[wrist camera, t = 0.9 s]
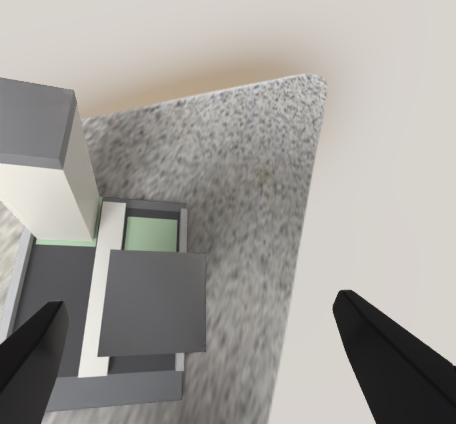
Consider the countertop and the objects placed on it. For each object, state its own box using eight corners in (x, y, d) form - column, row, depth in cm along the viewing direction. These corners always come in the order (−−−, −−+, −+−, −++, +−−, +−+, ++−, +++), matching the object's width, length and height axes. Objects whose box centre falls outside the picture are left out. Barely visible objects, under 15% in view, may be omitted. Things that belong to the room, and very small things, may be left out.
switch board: (180, 398, 20) (183, 402, 19) (-13, 415, 17) (-26, 421, 16) (185, 207, 25) (187, 199, 24) (39, 194, 22) (33, 185, 21)
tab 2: (171, 346, 20) (205, 351, 10) (115, 348, 19) (96, 357, 9) (173, 292, 21) (205, 253, 12) (121, 292, 20) (110, 249, 11)
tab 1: (93, 242, 21) (58, 159, 12) (37, 239, 20) (-52, 146, 11) (99, 197, 23) (73, 90, 13) (47, 193, 22) (-23, 73, 12)
